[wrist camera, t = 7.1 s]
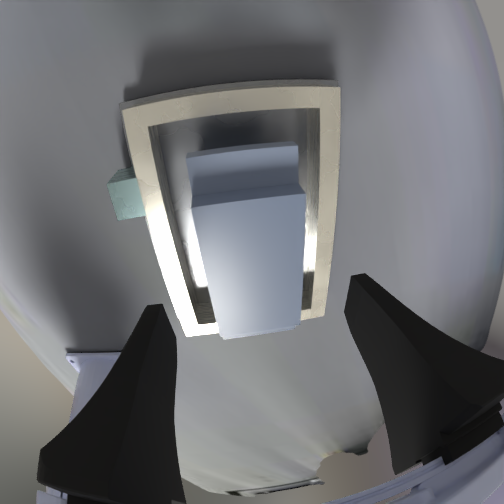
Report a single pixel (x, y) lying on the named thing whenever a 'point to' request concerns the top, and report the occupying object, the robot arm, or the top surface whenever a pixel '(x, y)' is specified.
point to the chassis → (220, 136)
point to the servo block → (250, 234)
